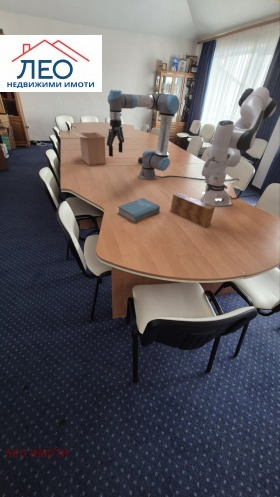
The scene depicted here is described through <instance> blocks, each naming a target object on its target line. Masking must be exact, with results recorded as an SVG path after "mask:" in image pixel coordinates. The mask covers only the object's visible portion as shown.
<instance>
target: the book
mask: <svg viewBox="0 0 280 497" xmlns="http://www.w3.org/2000/svg"><path fill="white" fill-rule="evenodd" d="M117 208H118V212H117V214H118V215H120V216H122V217H123V218H125V219H127V220H128V221H130V222H132V223H136V222H139V221H141V220H143V219H146V218H148V217H150V216H153V215H155V214H157V213H159V212H161V211H160V209H161V206H160V205H159V204H157V203H155V202H154V201H151V200H148V199H146V198H145V197H141V198H138V199H135V200H133V201H130V202H127V203H124V204H121V205H118V207H117Z"/></svg>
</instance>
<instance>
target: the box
mask: <svg viewBox="0 0 280 497" xmlns="http://www.w3.org/2000/svg"><path fill="white" fill-rule="evenodd" d="M70 133H71V134H72V135H74V136H75V137H77V138H79V144H80V153H81V160H83V162H85V163H86V165H87V166H95V165H97V166H98V165H106V163H107V162H106V158H107V157H106V138H108V134H109V133H108V132H105V131H98V132H96V131H95V130H92V129H91V130H77V132H76V131H70Z"/></svg>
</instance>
